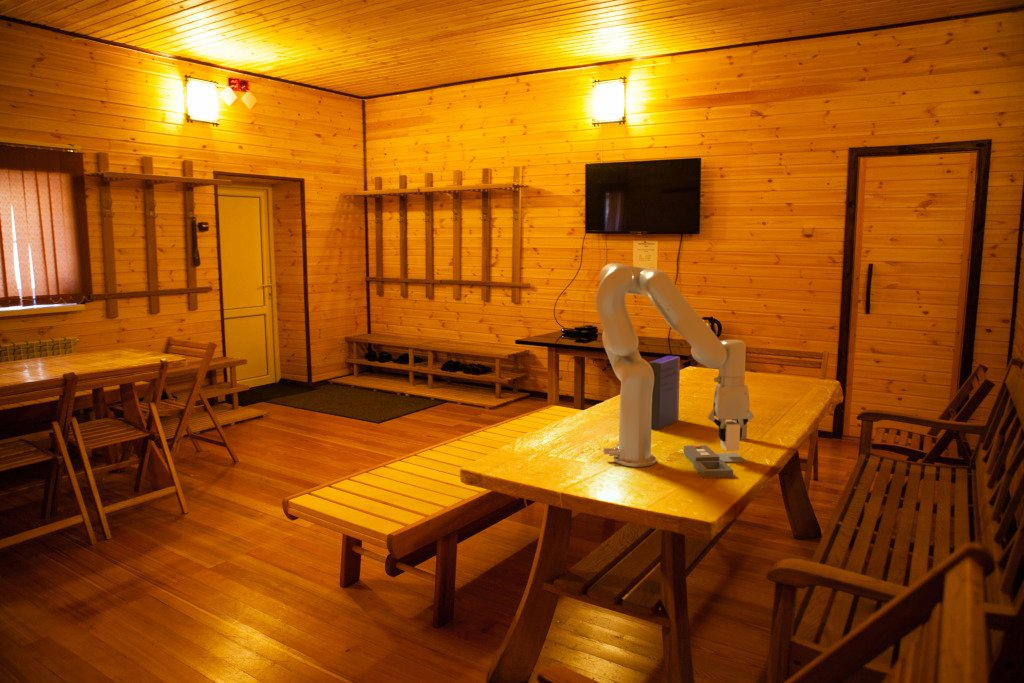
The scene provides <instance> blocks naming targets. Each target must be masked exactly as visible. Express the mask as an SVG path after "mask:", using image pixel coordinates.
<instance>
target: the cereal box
mask: <svg viewBox="0 0 1024 683" xmlns="http://www.w3.org/2000/svg"><path fill="white" fill-rule="evenodd" d="M647 362H648V363H649V364H650V366H651V367H652V369H653V372H654V385H653V392H652V418H651V430H653V429H655V430H654V431H661V430H662V428H663V429H664V427H665V428H667V427H668V426H670V425H672V424H674V423H676V422H678V421H679V418H680V417H679V415H680V413H679V412H680V410H679V408H680V378H681V377H680V376H681V375H680V374H681V373H680V371H681V357H680V356H678V355H677V356H676V355H666V356H662V357H660V358H657V359H654V360H651V361H647ZM677 420H678V421H677ZM675 421H676V422H675ZM666 426H667V427H666ZM660 429H661V430H660Z"/></svg>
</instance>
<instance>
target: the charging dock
mask: <svg viewBox="0 0 1024 683" xmlns="http://www.w3.org/2000/svg"><path fill="white" fill-rule="evenodd" d="M684 455H685V456H686V457H687V458H688V459H689V460H690V461H691V462H692V463H693V464H692V463H691V462H690V461H689V460H688V459H687V458H686V457H685V456H684ZM683 456H684V457H685V458H686V459H687V460H688V461H689V462H690V463H691V464H692V466H693V469H695V471H696V470H697V471H698V472H699V473H700V474H701V475H702V476H703V477H720V478H734V469H733V468H732V467H730V466H729V465H728V463H724V462H723V461H722V460H719V456H718V455H717V454H716V452H714V450H712V449H711V448H710V447H709V446H708V445H707V444H704V445H703V444H694V445H684V446H683ZM707 468H713V469H707ZM718 468H719V469H718ZM698 472H697V473H698ZM699 473H698V474H699ZM700 474H699V475H700ZM701 475H700V476H701ZM702 476H701V477H702Z"/></svg>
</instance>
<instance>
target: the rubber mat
mask: <svg viewBox="0 0 1024 683" xmlns="http://www.w3.org/2000/svg"><path fill="white" fill-rule="evenodd" d="M715 453H716V452H715ZM716 454H717V455H718V456H719V460H722V461H723V462H735V464H739V462H740V463H741V464H742V463H743V462H744V463H747V460H746V459H745V458H743V456H741V455H740V454H739V453H738V452H722V453H721V452H719V453H716Z"/></svg>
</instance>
